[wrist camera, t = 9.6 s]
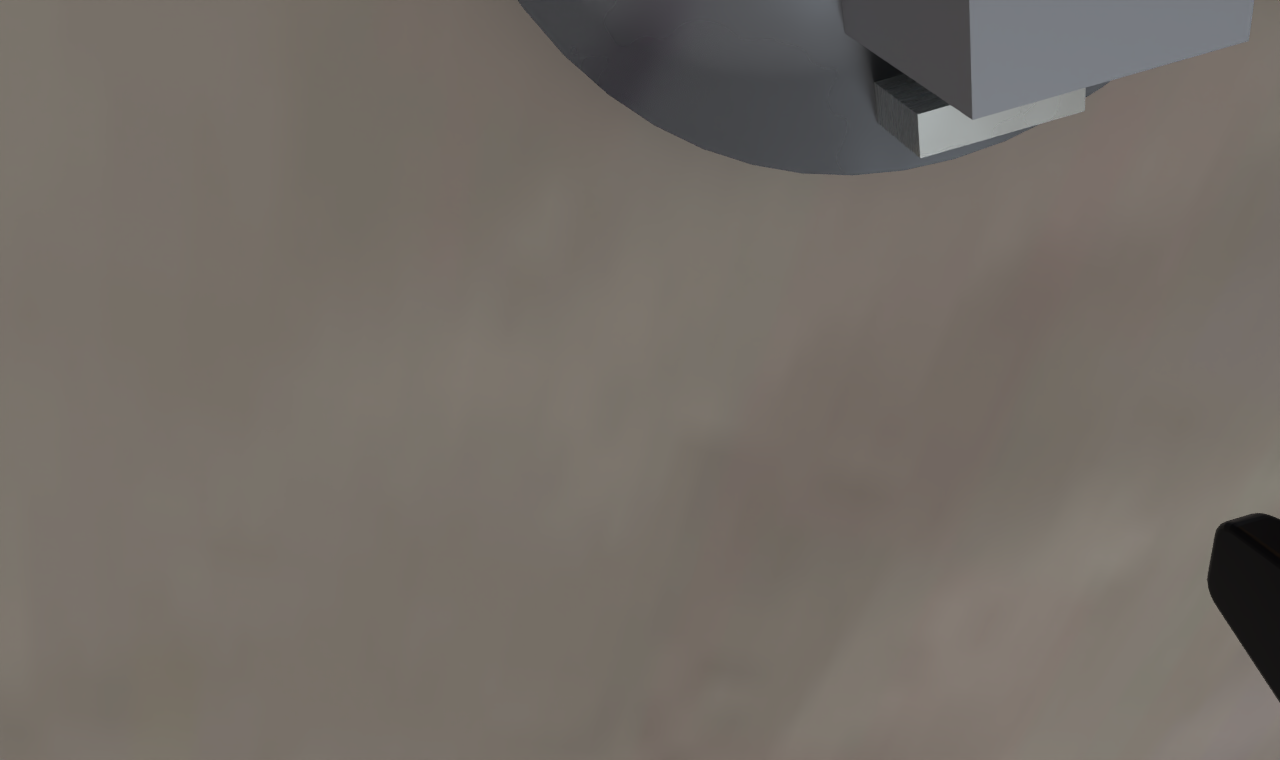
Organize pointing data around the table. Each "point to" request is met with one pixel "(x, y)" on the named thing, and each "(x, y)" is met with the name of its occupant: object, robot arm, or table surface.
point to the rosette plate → (773, 84)
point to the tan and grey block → (1037, 42)
